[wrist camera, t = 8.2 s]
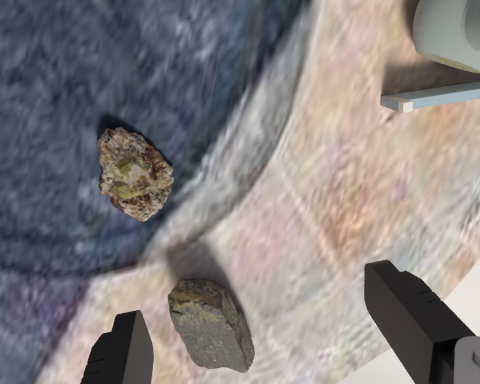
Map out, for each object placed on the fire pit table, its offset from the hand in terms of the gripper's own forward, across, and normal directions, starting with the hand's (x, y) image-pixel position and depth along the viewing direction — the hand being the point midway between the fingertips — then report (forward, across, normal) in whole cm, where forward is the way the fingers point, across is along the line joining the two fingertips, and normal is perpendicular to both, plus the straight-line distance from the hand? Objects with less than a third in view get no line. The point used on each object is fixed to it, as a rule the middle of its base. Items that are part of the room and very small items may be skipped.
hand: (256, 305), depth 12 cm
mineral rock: (+28, +9, +3) cm, 29 cm away
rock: (+28, +5, +26) cm, 38 cm away
